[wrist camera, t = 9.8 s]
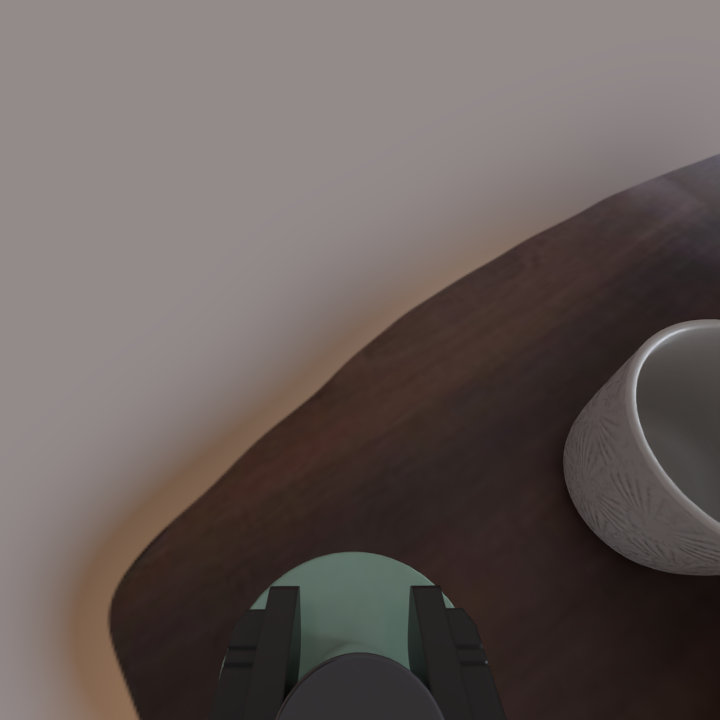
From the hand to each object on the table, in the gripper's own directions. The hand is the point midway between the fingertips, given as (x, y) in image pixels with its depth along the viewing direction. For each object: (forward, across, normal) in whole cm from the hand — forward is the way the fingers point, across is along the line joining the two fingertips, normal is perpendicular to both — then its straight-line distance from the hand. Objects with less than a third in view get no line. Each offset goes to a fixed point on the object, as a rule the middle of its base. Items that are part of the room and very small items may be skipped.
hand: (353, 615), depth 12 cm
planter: (+19, -19, +7) cm, 28 cm away
